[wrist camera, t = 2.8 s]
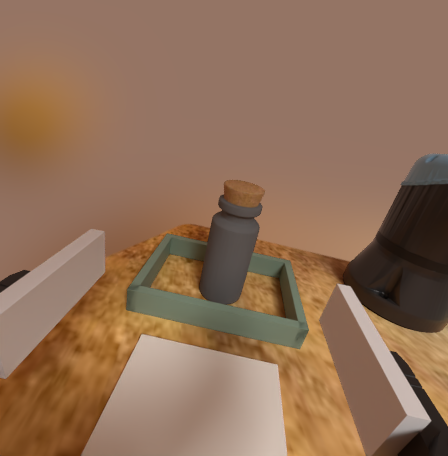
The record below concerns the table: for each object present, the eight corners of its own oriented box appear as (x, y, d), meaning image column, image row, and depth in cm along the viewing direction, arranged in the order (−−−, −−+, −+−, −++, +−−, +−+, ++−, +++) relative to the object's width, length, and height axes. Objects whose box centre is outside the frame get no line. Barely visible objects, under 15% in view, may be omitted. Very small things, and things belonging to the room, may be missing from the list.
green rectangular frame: (284, 275, 40) (290, 260, 39) (299, 349, 28) (308, 330, 26) (165, 249, 41) (167, 233, 39) (126, 310, 28) (127, 289, 27)
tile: (276, 367, 25) (277, 364, 25) (290, 511, 16) (292, 508, 16) (141, 337, 25) (141, 334, 25) (79, 462, 16) (79, 458, 16)
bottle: (208, 272, 37) (227, 175, 31) (244, 285, 36) (273, 187, 30) (191, 295, 32) (211, 184, 26) (234, 311, 31) (265, 199, 25)
